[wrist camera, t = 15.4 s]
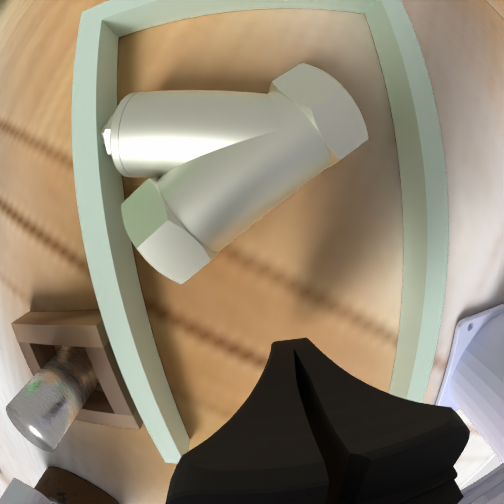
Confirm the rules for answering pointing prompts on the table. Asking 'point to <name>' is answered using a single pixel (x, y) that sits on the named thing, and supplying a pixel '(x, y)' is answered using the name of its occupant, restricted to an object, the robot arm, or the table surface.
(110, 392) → the tan square frame
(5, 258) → the table surface
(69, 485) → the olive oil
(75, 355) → the pin
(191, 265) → the pipe fitting
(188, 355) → the table surface
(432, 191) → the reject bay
